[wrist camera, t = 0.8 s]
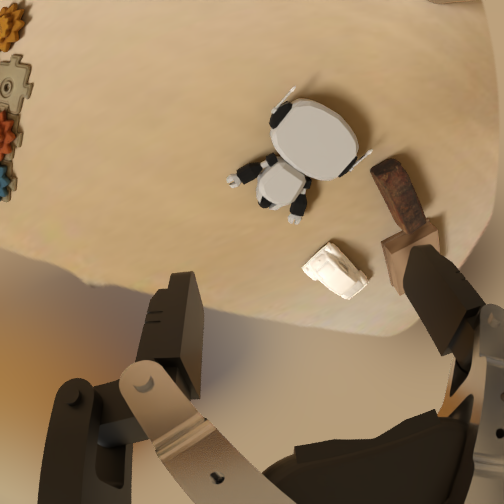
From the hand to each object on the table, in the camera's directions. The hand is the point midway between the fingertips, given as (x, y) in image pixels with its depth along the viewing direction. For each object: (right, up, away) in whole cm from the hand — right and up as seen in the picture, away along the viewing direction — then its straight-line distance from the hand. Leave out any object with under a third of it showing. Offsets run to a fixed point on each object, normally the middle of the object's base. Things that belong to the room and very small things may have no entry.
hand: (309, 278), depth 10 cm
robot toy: (+3, +13, +26) cm, 29 cm away
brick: (+18, +10, +29) cm, 36 cm away
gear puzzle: (-40, +23, +15) cm, 49 cm away
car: (+12, -2, +37) cm, 38 cm away
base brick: (+25, +1, +36) cm, 43 cm away
